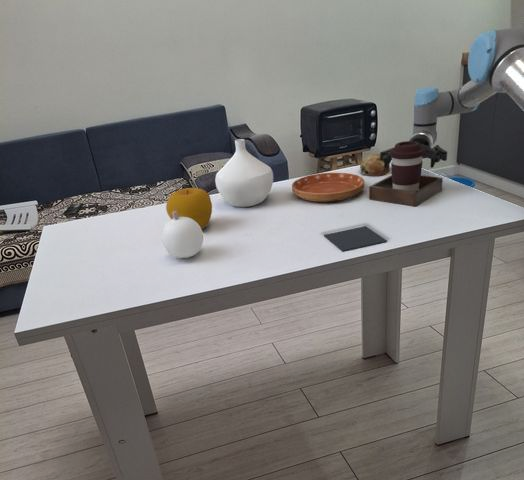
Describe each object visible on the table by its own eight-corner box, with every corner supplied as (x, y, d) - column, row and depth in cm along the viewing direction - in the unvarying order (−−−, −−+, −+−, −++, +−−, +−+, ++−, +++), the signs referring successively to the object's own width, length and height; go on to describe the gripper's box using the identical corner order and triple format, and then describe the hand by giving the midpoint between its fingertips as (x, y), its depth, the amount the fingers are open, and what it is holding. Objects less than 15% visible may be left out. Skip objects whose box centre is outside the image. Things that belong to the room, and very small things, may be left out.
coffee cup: (405, 202, 157) (407, 149, 149) (381, 196, 164) (382, 145, 156) (429, 194, 161) (432, 142, 153) (405, 188, 168) (407, 138, 160)
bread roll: (357, 183, 190) (351, 164, 184) (374, 163, 192) (368, 145, 187) (380, 187, 183) (374, 168, 178) (397, 167, 186) (392, 147, 180)
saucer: (340, 178, 184) (340, 167, 182) (378, 194, 166) (379, 182, 164) (280, 192, 178) (279, 181, 176) (313, 210, 159) (313, 198, 157)
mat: (365, 227, 144) (365, 225, 144) (386, 242, 134) (387, 240, 134) (324, 236, 142) (324, 234, 141) (342, 251, 132) (342, 250, 132)
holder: (441, 191, 162) (442, 177, 160) (415, 206, 153) (416, 192, 151) (395, 185, 172) (396, 172, 170) (369, 199, 163) (369, 186, 161)
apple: (212, 234, 151) (205, 194, 145) (167, 238, 152) (159, 198, 146) (218, 219, 162) (212, 181, 156) (176, 222, 163) (168, 185, 157)
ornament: (158, 259, 140) (148, 215, 133) (187, 246, 146) (178, 202, 139) (185, 267, 134) (176, 221, 127) (213, 252, 140) (206, 207, 133)
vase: (231, 193, 183) (223, 134, 173) (282, 193, 177) (277, 132, 166) (209, 211, 169) (199, 148, 158) (264, 212, 163) (257, 146, 152)
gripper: (458, 157, 174) (451, 176, 158) (381, 157, 183) (367, 175, 167) (460, 132, 170) (453, 149, 154) (381, 134, 179) (367, 150, 163)
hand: (408, 163), depth 160 cm, fingers open, 13 cm apart
